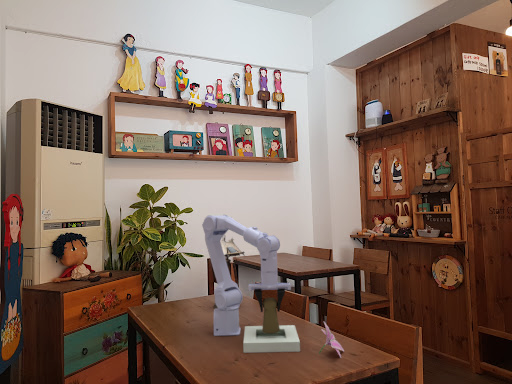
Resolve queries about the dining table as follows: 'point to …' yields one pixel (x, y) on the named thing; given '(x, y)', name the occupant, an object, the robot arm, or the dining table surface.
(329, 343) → the lily
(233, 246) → the bird statue
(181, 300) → the dining table surface
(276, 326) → the cork
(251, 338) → the slot box
